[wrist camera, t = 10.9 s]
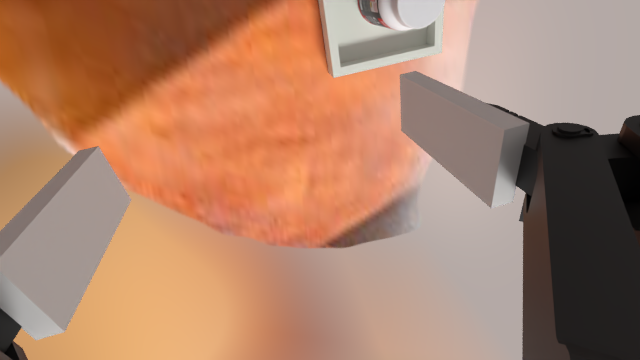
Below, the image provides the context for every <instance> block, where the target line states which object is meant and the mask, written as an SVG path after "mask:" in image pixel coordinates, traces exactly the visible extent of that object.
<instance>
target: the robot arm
mask: <svg viewBox="0 0 640 360" xmlns="http://www.w3.org/2000/svg"><path fill="white" fill-rule="evenodd" d="M400 95H401V131H402V132H404V133H405V134H406V135H407V136H408V137H409V138H410V139H412V140H413V141H414V142H415V143H416V144H417V145H419V146H420V147H421V148H422V149H423V150H424V151H426V152H427V153H428V154H429V155H430V156H431V157H432V158H434V159H435V160H436V161H437V162H438V163H440V164H441V165H442V166H443V167H444V168H445V169H446V170H448V171H449V172H450V173H451V174H452V175H453V176H454V177H456V178H457V179H458V180H459V181H460V182H461V183H463V184H464V185H465V186H466V187H467V188H469V189H470V190H471V191H472V192H473V193H474V194H475V195H476V196H478V197H479V198H480V199H481V200H482V201H484V202H485V203H486V204H487V205H488V206H489V207H490V208H494V207H498V206H501V205H504V204H508V203H511V202H513V199H514V195H515V190H516V186H517V187H519V188H520V189H522V190H523V191H524V192H526V194H525V198H524V203H523V207H522V212H521V215H520V220H519V221H523V360H640V115H637V116H632V117H629V118H626V120H625V121H624V124H623V126H622V129H621V131H620V134H608V135H599V134H598V133H597V132H596V131H595V130H594V129H592V128H589V127H587V126H583V125H579V124H573V123H554V124H549V125H547V126H543V125H540V124H538V123H536V122H534V121H531V120H529V119H527V118H525V117H523V116H518V115H517V114H516V113H513V112H509V110H507V109H505V108H502V107H500V106H498V105H492V104H488V103H484V102H482V101H480V100H478V99H476V98H474V97H471V96H469V95H467V94H465V93H463V92H461V91H458V90H456V89H454V88H452V87H450V86H447V85H445V84H443V83H441V82H439V81H437V80H434V79H432V78H430V77H428V76H426V75H423V74H421V73H419V72H417V71H414V72H410V73H405V74H401V75H400ZM130 201H131V198H130V197H129V195H128V193H127V192H126V190H125V188H124V187H123V185H122V184H121V182H120V180H119V179H118V177H117V175H116V174H115V172H114V171H113V169H112V167H111V166H110V164H109V163H108V161H107V159H106V158H105V156H104V154H103V153H102V151H101V150H100V148H99V146H97V147H93V148H89V149H85V150H81V151H78V152H77V153H76V154H75V155H74V156H73V158H72V159H71V160H70V161H69V162H68V163H67V164H66V165H65V166H64V167H63V168H62V169H61V170H60V171H59V172H58V173H57V174H56V175H55V176H54V177H53V178H52V179H51V180H50V181H49V182H48V183H47V184H46V185H45V186H44V187H43V188H42V189H41V190H40V191H39V192H38V193H37V194H36V195H35V196H34V197H33V198H32V199H31V200H30V201H29V202H28V203H27V205H26V206H24V208H23V209H22V210H21V211H20V212H19V213H18V214H17V215H16V216H15V217H14V218H13V219H12V220H11V221H10V222H9V223H8V224H7V225H6V226H5V227H4V228H3V229H2V230H1V231H0V360H28V359H27V357H26V355H25V353H24V351H23V349H22V348H21V347H20V346H19V345H17V344H16V343H15V342H14V341H13V339H14V338H15V337H16V335H17V334H18V332H19V330H20V329H21V328H22V329H23V330H24V331H26V332H27V333H28V334H29V335H30V336H32V337H33V338H34V339H35V340H38V339H42V338H45V337H49V336H52V335H56V334H59V333H63V332H65V330H66V328H67V326H68V324H69V322H70V320H71V318H72V317H73V315H74V313H75V310H76V308H77V306H78V304H79V303H80V301H81V299H82V297H83V295H84V293H85V291H86V289H87V287H88V285H89V283H90V281H91V279H92V276H93V275H94V273H95V271H96V269H97V267H98V265H99V263H100V261H101V259H102V257H103V255H104V253H105V251H106V249H107V247H108V245H109V243H110V241H111V239H112V237H113V235H114V233H115V231H116V229H117V227H118V225H119V223H120V221H121V219H122V217H123V215H124V213H125V211H126V209H127V207H128V205H129V203H130Z"/></svg>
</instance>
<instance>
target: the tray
mask: <svg viewBox="0 0 640 360" xmlns="http://www.w3.org/2000/svg"><path fill="white" fill-rule="evenodd" d="M318 3H319V10H320V17H321V23H322V30H323V37H324V44H325V51H326V58H327V65H328V72H329V74H330V75H331V76H332V77H333V78H335V77H339V76H344V75H348V74H352V73H357V72H361V71H365V70H370V69H374V68H378V67H383V66H387V65H391V64H396V63H400V62H404V61H409V60H413V59H417V58H422V57H426V56H430V55H435V54H439V53H442V36H443V14H444V6H443V9H442V11H441V13H440V15H439V16H438V17H437V18H436V20H435V21H434V22H432V23H431V24H430V25H428V26H426V27H424V28H419V29H414V28H413V29H410V30H406V31H397V30H393V29H389V28H386V27H381V26H377V25H373V24H371V23H369V22H367V21H366V20H365V19H364V18H363V17H362V15H361V14H360V12H359V9H358V6H357V0H318Z"/></svg>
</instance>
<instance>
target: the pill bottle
mask: <svg viewBox="0 0 640 360" xmlns="http://www.w3.org/2000/svg"><path fill="white" fill-rule="evenodd" d="M444 3H445V0H357V6H358V9H359V12H360V14H361V15H362V17H363V18H364V19H365V20H366V21H367V22H369V23H371V24H373V25H377V26H381V27H386V28H389V29H393V30H397V31H406V30H410V29H413V28H414V29H419V28H424V27H426V26H428V25H430V24H431V23H432V22H434V21H435V20H436V18H437V17H438V16H439V15H440V13H441V11H442V9H443V6H444Z"/></svg>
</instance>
